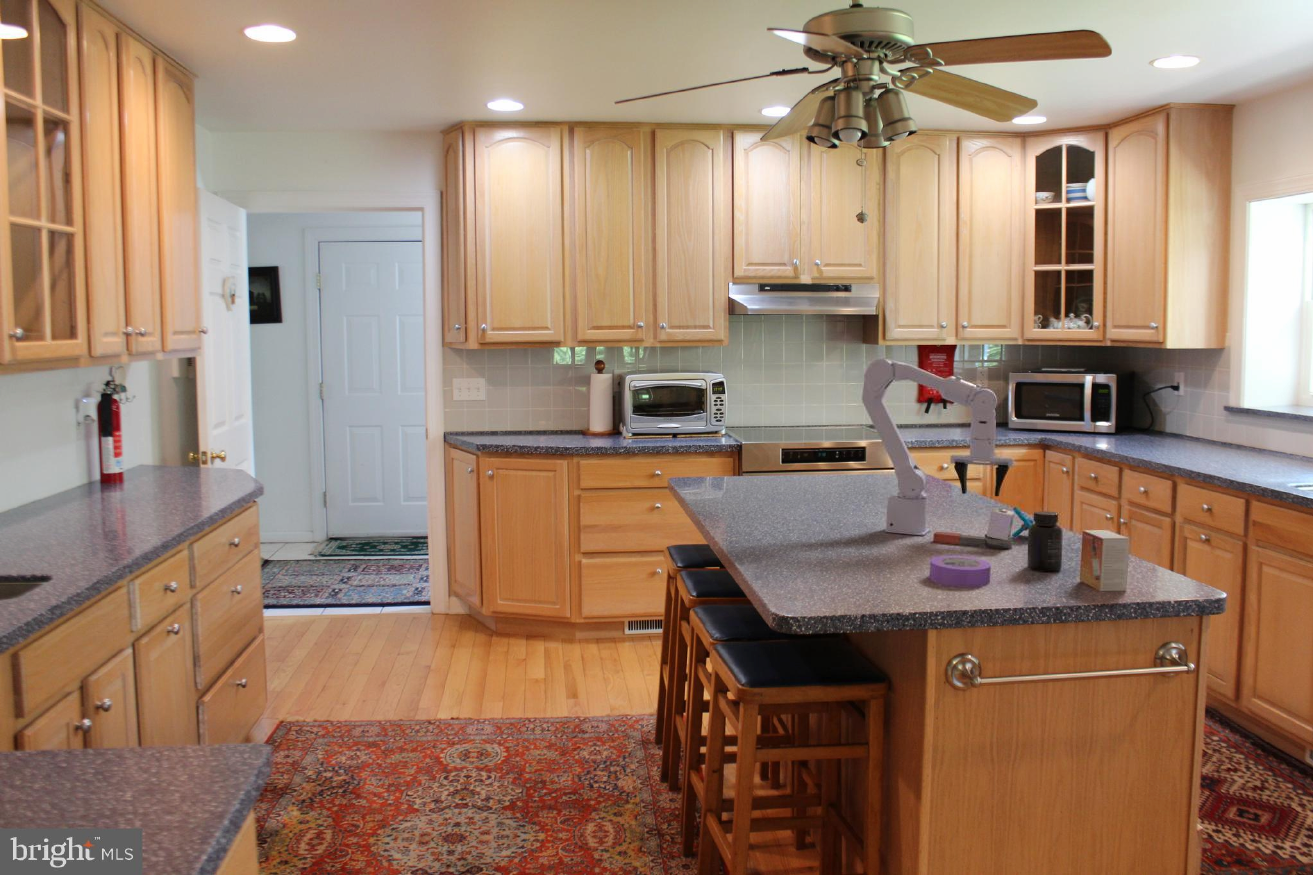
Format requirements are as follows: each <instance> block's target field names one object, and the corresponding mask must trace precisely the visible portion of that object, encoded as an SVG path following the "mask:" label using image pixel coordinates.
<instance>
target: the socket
mask: <svg viewBox="0 0 1313 875" xmlns="http://www.w3.org/2000/svg"><path fill="white" fill-rule="evenodd" d="M1015 514H1016V513H1015V512H1014V511H1012V510H1007V509H1005V508H998V507H997V508H996V507H993V509H991V510H990V516H989V520H988V526H987V530H986V531H987V532H986V534H987V536H989V537H993V538H998V539H1003V540H1008V539H1009V538H1010V537H1011V536H1012V528H1013V525H1014V523H1013V522H1014V518H1015Z"/></svg>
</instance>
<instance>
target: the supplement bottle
mask: <svg viewBox="0 0 1313 875" xmlns="http://www.w3.org/2000/svg"><path fill="white" fill-rule="evenodd" d="M1032 521H1033V522H1034V523H1033V524H1032V525H1031V526H1030V527H1029V529H1028V530H1027V531H1028V532H1027V564H1026V566H1027V567H1028V569H1030V570H1032V571H1036V572H1041V573H1042V572H1043V573H1046V572H1047V573H1056V572H1060V571H1061V570H1062V567H1063V566H1062V564H1063V535H1064V533H1063V532H1064V531H1063V528H1062V527H1061V526H1059V524H1058V523H1059V513H1058V512H1055V511H1047V510H1046V511H1045V510H1044V511H1043V510H1040V511H1039V510H1038V511H1034V512H1033V519H1032Z"/></svg>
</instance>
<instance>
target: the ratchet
mask: <svg viewBox="0 0 1313 875" xmlns="http://www.w3.org/2000/svg"><path fill="white" fill-rule="evenodd" d="M932 539H933V541H932V542H933V543H939V544H950V545H959V546H960V545H961V546H962V545H963V546H972V547H983V548H986V549H990V550H1000V551H1001V550H1002V551H1003V550H1004V551H1007V550H1011V549H1013V537H1011V536H1010V538H1009V539H1008V540H1003V539H998V538H993V537H989V536H987V533H985V534H984V536H979V535H968V534H963V533H960V532H949V531H948V532H945V531H935V532H934V533H933V538H932Z"/></svg>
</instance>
